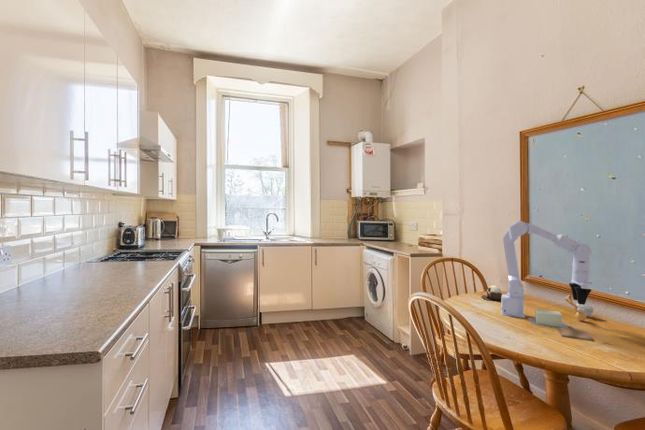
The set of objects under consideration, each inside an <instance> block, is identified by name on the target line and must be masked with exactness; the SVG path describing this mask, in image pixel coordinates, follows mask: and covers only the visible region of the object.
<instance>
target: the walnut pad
mask: <svg viewBox="0 0 645 430" xmlns="http://www.w3.org/2000/svg"><path fill="white" fill-rule="evenodd" d="M555 329H556V331H557V332H558V333H559V335H560V336H561V337H565V338H570V339H577V340H582V341H583V340H584V341H591V342H594V338H593V337H592V336H591V335H590V334H589V332H587V331H586V330H579V329H572V328H569V329H567V328H559V327H556V328H555Z"/></svg>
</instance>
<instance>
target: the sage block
mask: <svg viewBox="0 0 645 430" xmlns="http://www.w3.org/2000/svg"><path fill="white" fill-rule="evenodd" d="M534 319H535V321H536V323H537V324H543V325H550V326H557V327H562V323H563V315H562V313H561V312H560V311H555V310H548V309H547V310H546V309H539V308H534Z"/></svg>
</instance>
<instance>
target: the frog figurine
mask: <svg viewBox="0 0 645 430" xmlns="http://www.w3.org/2000/svg"><path fill="white" fill-rule="evenodd" d="M575 305H577V306H578V308H577V311H580V312H584V313H585V314H586V318H589V317H590V316H592V313H594V308H593V307H592V306H591V305H590V304H588V303H587V301H586V302H585V305H582V304H578V302H576V303H575Z"/></svg>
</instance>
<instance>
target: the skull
mask: <svg viewBox="0 0 645 430" xmlns="http://www.w3.org/2000/svg"><path fill="white" fill-rule="evenodd" d="M502 295H503V292H502V290H501V288H500V287H499V286H497V285H490V286H488V289H487V290H486V294H484V295H481V299H483V300H486V301H488V302H501V298H502Z"/></svg>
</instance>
